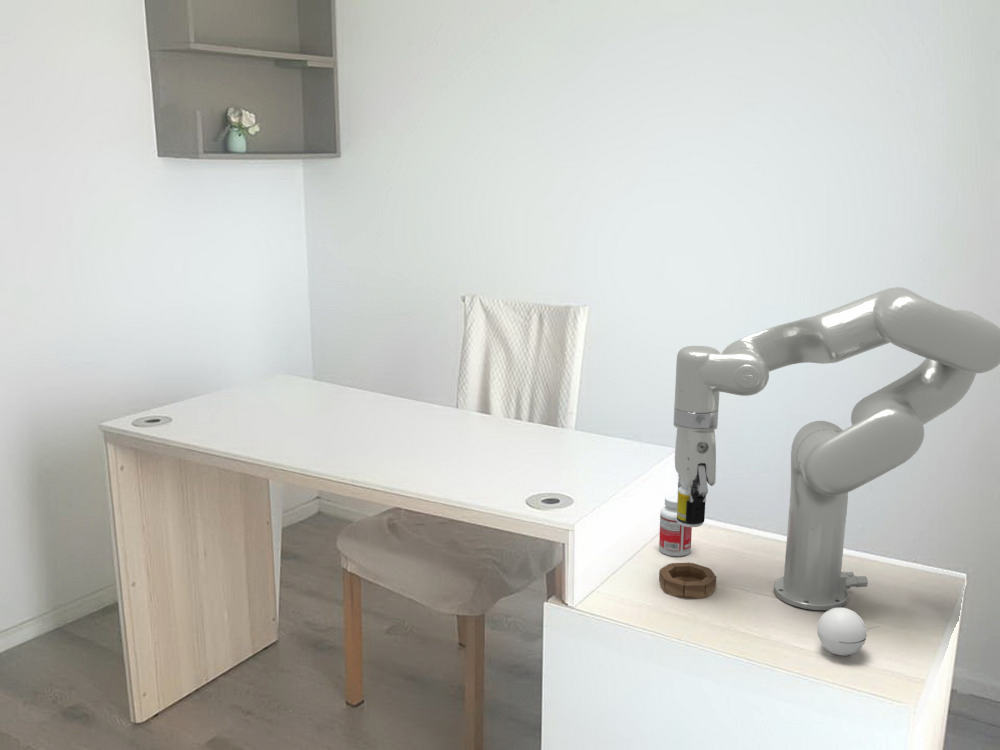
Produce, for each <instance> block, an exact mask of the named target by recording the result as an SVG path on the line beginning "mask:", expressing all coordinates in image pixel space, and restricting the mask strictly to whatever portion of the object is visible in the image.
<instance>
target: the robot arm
mask: <svg viewBox="0 0 1000 750" xmlns="http://www.w3.org/2000/svg"><path fill="white" fill-rule="evenodd" d="M890 343H891V344H892V345H894V346H896V347H898V348H900V349H903V350H905V351H907V352H909V353H912V354H914V355H916V356H917V355H918V356H920V357H923V358H925V359H924V360H923V361H922V362H921V364H919V365H918V366H917V367H916V368H913V369H912V370H911V371H910V372H908V373H906V374H905V375H903V376H901V377H899V378H898V379H896V380H894V381H893V382H890V383H889V384H887V385H886V386H885V385H884V386H883V387H881V388H879V389H878V390H876V391H874V392H873V393H870V394H867V396H865V397H863V398H862V399H861V400H859V401H858V402H857V403H856V404H855V405H854V407H853V409H852V411H851V415H850V422H851V426H849V427H846V428H845V429H843V428H841V427H839V426H838V425H837V424H834V423H833V422H830V421H826V420H814V421H810V422H809V423H806V424H805V425H804V426H802V427H801V428H800V429H799V430H798V431H797V433H796V434H795V435H794V438H793V440H792V444H791V449H790V450H791V452H790V496H789V506H788V507H789V508H788V519H787V531H786V546H785V556H784V557H785V558H784V559H785V560H784V573H783V576H781V577H779V578H777V580H775V582H774V584H773V591H774V594H775V595H776V596H777V597H778V599H780V600H781V601H783V602H784V603H787V604H789V605H791V606H793V607H796V608H801V609H805V610H811V611H829V610H830V609H833V608H843V607H845V605H846V604H847V603H848V601H849V592H848V590H850V589H851V588H866V587H868V578H867V576H866V575H855V574H854V572H853V571H844V572H842V569H843V568H842V567H843V566H842V565H843V556H844V555H843V554H844V545H845V532H846V522H847V515H848V502H849V499H848V498H849V493H850V492H852V491H855V490H856V489H859V488H861V487H862V486H864V485H866V484H868V483H870V482H872V481H874V480H876V479H878V478H879V477H881V476H883V475H884V474H885V475H886V473H888V472H891V471H892V470H894V469H896V468H898V467H899V466H901V465H903V464H905V463H906V462H907V461H909V460H910V459H911V458H913V456H914V455H915V454H917V452H918V451H919V450H920V448H921V446H922V444H923V442H924V438H925V427H924V425H926V424H928V423H929V422H931V421H932V420H934V419H936V418H937V417H939V416H940V415H943V414H944V413H945V412H946V413H947V411H949V410H951V409H952V408H953V407H954V406H956V405H957V404H958V403H959V402H960V401H961V400H962V399H963V398H964V397H965V396H966V394H968V392H969V390H970V389H971V386H972V385H973V383H974V380H975V377H976V375H977V374H983V373H987V372H990V371H992V370H994V369H995V368H997V367H998V366H999V365H1000V327H999V326H998V325H996V324H995V323H994V322H992V321H990V320H988V319H986V318H984V317H982V316H980V315H979V314H977V313H974V312H972V311H969V310H965V309H957V310H954V309H953V308H951V307H946V306H945V305H941V304H939V303H937V302H934V301H931V300H929V299H927V298H925V297H923V296H921V295H919V294H917V293H916V292H914V291H912V290H910V289H908V288H905V287H900V286H899V287H898V286H896V287H889V288H886V289H884V290H880V291H878V292H874V293H872V294H868V295H866V296H864V297H862V298H859V299H856V300H854V301H852V302H849V303H845V304H844V305H841V306H839V307H835V308H832V309H830V310H827V311H824V312H821V313H819V314H816V315H813V316H809V317H805V318H800V319H798V320H795V321H790V322H786V323H782V324H779V325H775V326H772V327H769V328H765V329H763V330H760V331H758V332H755V333H752V334H750V335H747V336H745V337H742V338H740V339H737V340H735V341H733V342H731V343H730V344H729V345H727V346H726V347H725V348H724V349H723V350H722V352H720V350H718V349H717V348H714V347H711V346H705V345H690V346H688V345H687V346H683V347H681V349H679V351H678V353H677V355H676V367H675V388H674V389H675V390H674V407H673V426H674V427H675V428H677V429H676V435H675V437H676V439H675V449H674V468H675V470H676V473H677V474H678V481H677V482H678V484H677V486H678V487H677V488H678V489H679V487H680V486H681V478H682V479H683V480H684V481H685V483H686V484H688V491H689V501H687V504H686V522H687V523H703V524H704V523H705V515H706V514H705V513H706V502H707V494H708V493H709V487H708V485H709V486H710V487H713V486H715V484H716V480H717V479H716V475H717V471H716V469H717V466H716V465H717V441H716V433H715V430H716V429H718V425H719V423H718V422H719V420H718V419H719V407H720V406H719V405H720V404H719V403H720V393H726V394H732V395H736V396H742V397H743V396H744V397H749V396H754V395H757V394H759V393H760V392H762V391H763V390H764V389H765V388H766V387H767V384H768V382H769V378H770V372H772V371H776V370H777V369H781V368H784V367H787V366H791V365H797V364H804V363H805V364H806V363H812V364H820V365H821V364H824V365H825V364H834V363H835V364H836V363H839V362H841V361H844V360H846V359H850V358H853V357H854V356H857V355H860V354H863V353H865V352H869V351H870V350H873V349H877V348H879V347H883V346H884V345H888V344H890ZM693 481H698V484H694V483H693ZM693 488H698V490H695V492H694V494H693ZM677 504H678V501H677Z"/></svg>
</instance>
